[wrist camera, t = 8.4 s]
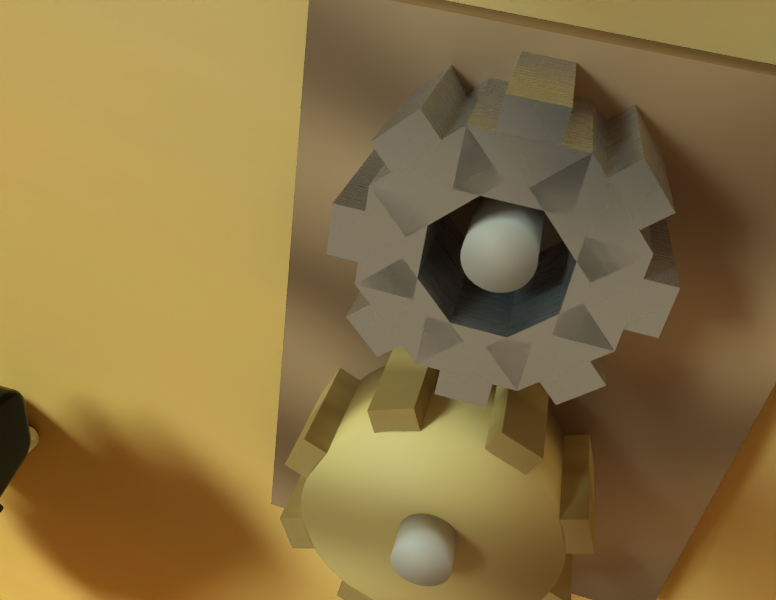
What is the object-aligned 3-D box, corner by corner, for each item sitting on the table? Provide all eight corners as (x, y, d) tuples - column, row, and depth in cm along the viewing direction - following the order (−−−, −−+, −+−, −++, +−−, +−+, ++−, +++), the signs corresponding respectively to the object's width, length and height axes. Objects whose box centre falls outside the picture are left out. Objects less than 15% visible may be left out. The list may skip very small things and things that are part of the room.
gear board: (326, -23, 17) (231, 18, 13) (907, 90, 15) (1036, 183, 11) (283, 479, 26) (219, 606, 22) (644, 584, 25) (656, 746, 20)
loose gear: (355, 288, 20) (314, 361, 17) (393, 23, 16) (348, 59, 13) (610, 354, 19) (613, 442, 16) (714, 90, 15) (741, 144, 12)
